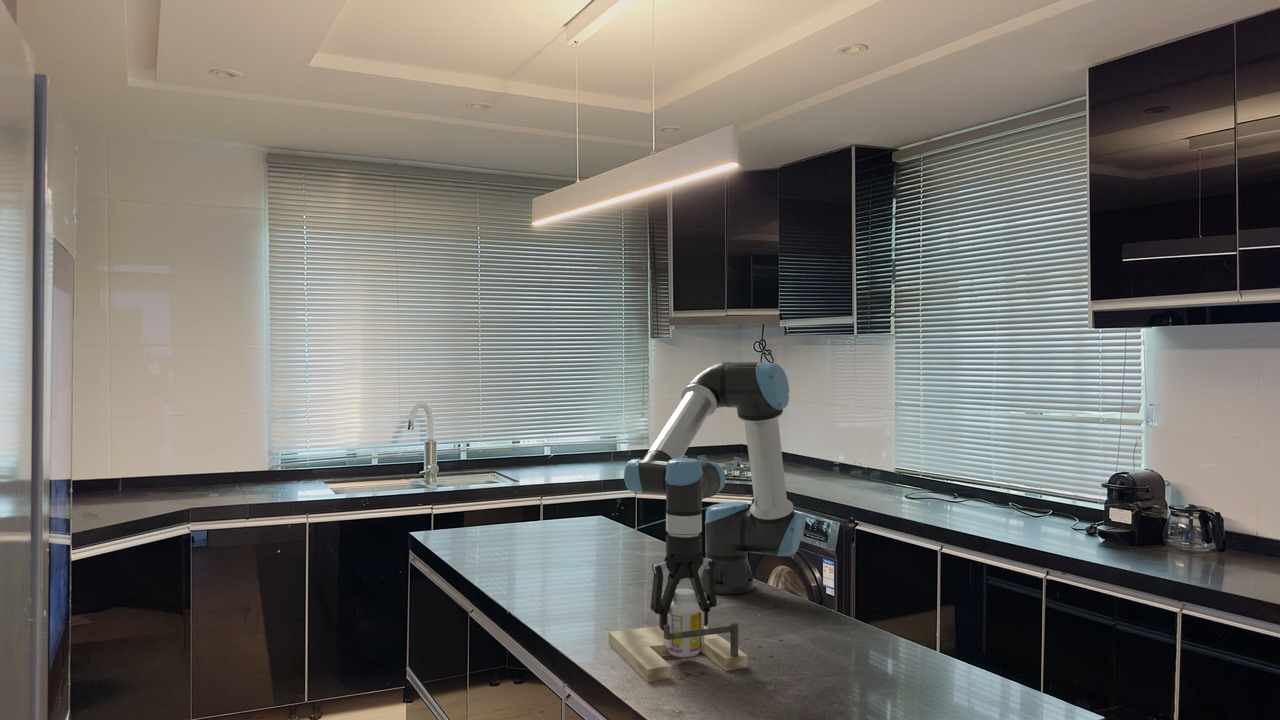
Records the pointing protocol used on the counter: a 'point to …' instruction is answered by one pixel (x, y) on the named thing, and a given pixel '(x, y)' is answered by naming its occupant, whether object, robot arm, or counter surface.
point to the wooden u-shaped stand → (648, 650)
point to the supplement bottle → (685, 623)
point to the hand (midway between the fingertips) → (683, 643)
